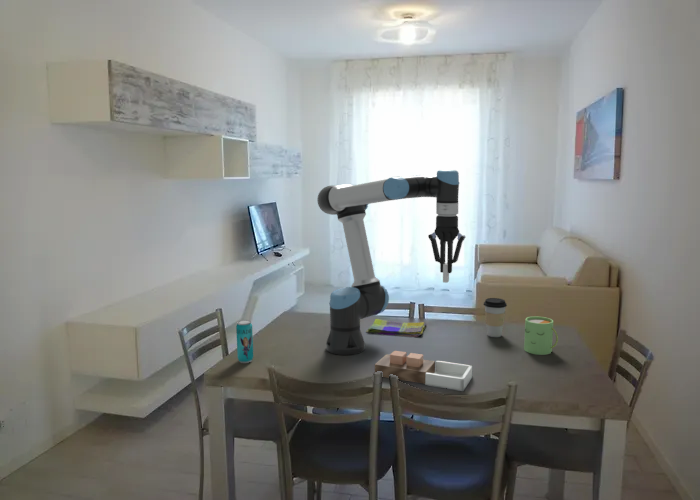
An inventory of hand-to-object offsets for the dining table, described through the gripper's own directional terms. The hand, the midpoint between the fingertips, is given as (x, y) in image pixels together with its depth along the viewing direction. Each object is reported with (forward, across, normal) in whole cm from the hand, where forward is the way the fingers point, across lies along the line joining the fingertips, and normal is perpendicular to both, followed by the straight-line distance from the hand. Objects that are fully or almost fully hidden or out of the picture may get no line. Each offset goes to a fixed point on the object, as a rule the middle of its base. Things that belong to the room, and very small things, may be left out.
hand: (445, 281), depth 195 cm
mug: (+30, +30, +27) cm, 51 cm away
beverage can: (+30, -68, -26) cm, 79 cm away
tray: (+30, +6, -15) cm, 34 cm away
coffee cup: (+30, +11, +40) cm, 51 cm away
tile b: (+26, -6, -15) cm, 31 cm away
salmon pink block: (+26, -12, -15) cm, 33 cm away
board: (+30, -10, -15) cm, 35 cm away
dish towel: (+31, -30, +32) cm, 54 cm away
